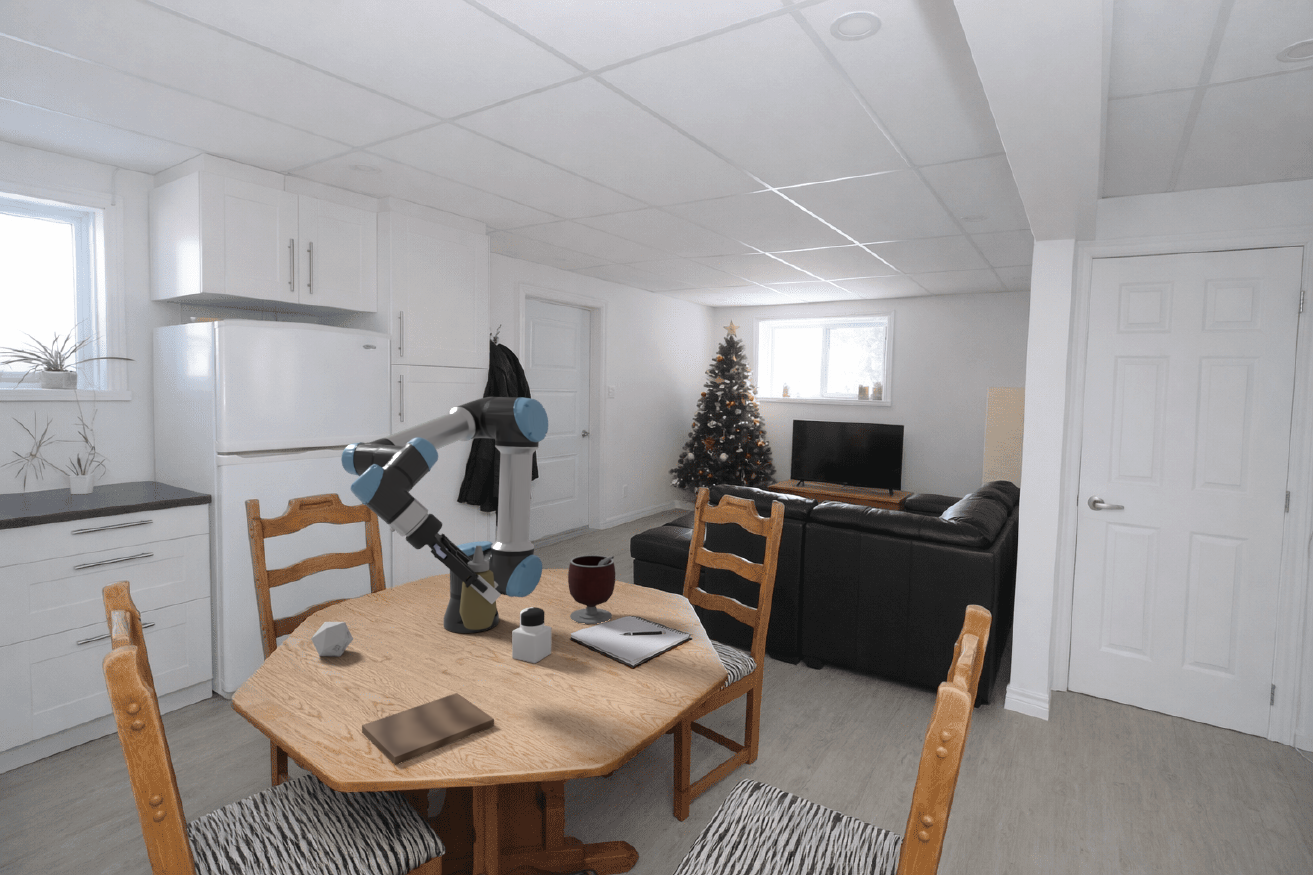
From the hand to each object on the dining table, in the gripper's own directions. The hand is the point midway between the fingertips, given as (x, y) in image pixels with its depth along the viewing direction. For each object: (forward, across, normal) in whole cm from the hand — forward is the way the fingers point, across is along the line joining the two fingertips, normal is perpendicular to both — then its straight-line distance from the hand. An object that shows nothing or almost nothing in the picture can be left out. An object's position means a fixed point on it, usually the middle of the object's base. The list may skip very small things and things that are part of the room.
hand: (494, 593), depth 145 cm
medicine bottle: (+23, -15, -8) cm, 28 cm away
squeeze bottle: (+3, 0, -8) cm, 8 cm away
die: (-11, -29, -42) cm, 52 cm away
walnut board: (+6, +15, -25) cm, 30 cm away
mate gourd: (+37, -38, +7) cm, 54 cm away
